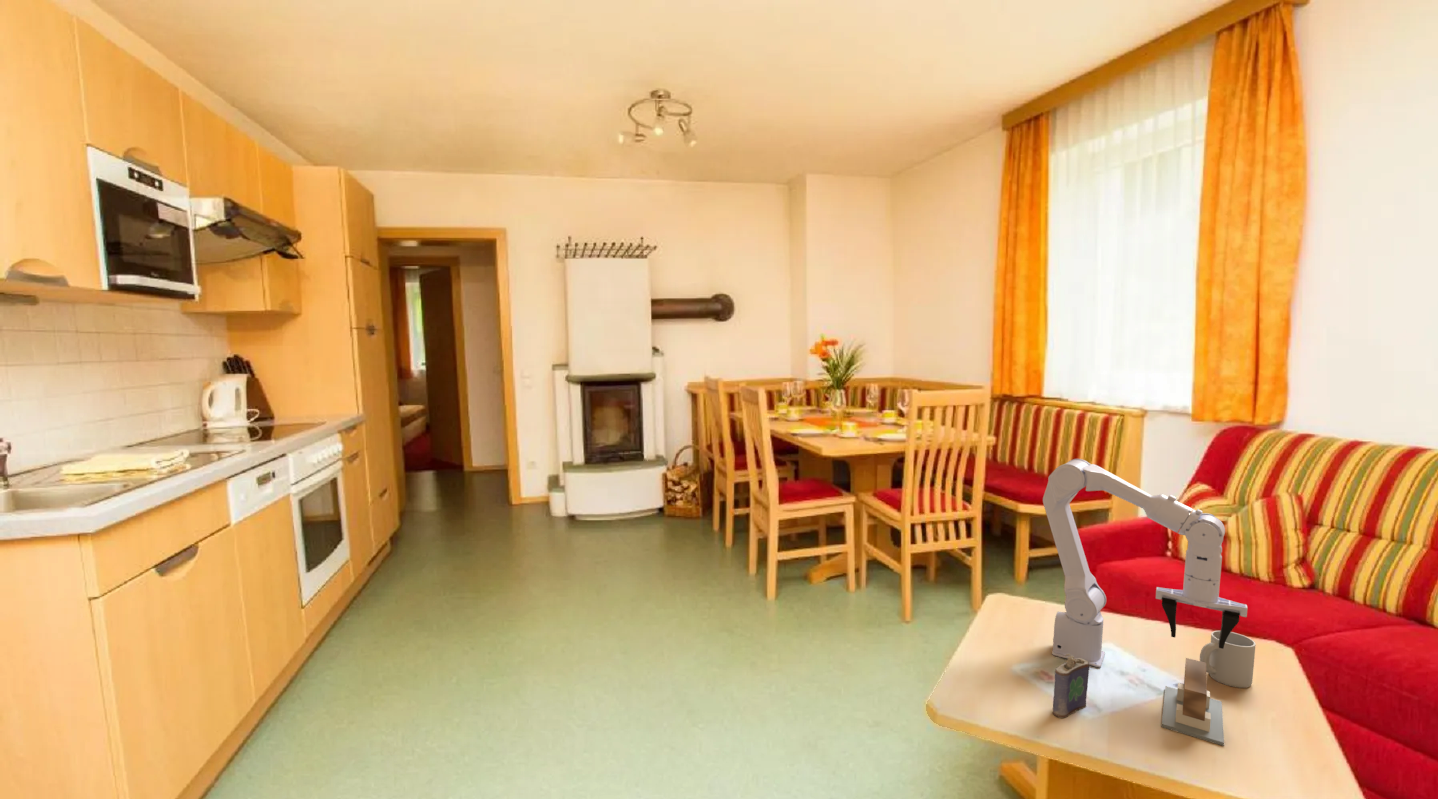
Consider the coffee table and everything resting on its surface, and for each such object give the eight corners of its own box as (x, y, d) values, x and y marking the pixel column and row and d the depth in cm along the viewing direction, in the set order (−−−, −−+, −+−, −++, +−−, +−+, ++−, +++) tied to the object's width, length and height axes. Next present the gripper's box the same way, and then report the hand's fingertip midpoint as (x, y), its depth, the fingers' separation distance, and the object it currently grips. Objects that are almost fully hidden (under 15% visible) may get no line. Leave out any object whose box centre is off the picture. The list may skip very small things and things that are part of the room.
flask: (1062, 720, 118) (1065, 665, 117) (1047, 712, 121) (1050, 658, 120) (1089, 705, 123) (1093, 653, 122) (1074, 698, 125) (1077, 646, 125)
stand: (1161, 726, 116) (1162, 711, 116) (1165, 688, 129) (1166, 674, 129) (1223, 746, 111) (1225, 729, 111) (1221, 704, 124) (1222, 689, 123)
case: (1182, 714, 115) (1184, 688, 115) (1184, 681, 126) (1185, 657, 126) (1204, 721, 113) (1206, 694, 113) (1204, 687, 124) (1206, 662, 124)
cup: (1261, 688, 129) (1265, 647, 128) (1212, 688, 129) (1215, 646, 128) (1233, 670, 136) (1236, 630, 135) (1186, 670, 136) (1189, 630, 136)
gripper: (1156, 573, 128) (1152, 637, 129) (1250, 590, 119) (1244, 659, 120) (1158, 563, 133) (1154, 625, 134) (1248, 579, 124) (1242, 645, 126)
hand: (1196, 640), depth 128 cm, fingers open, 7 cm apart
